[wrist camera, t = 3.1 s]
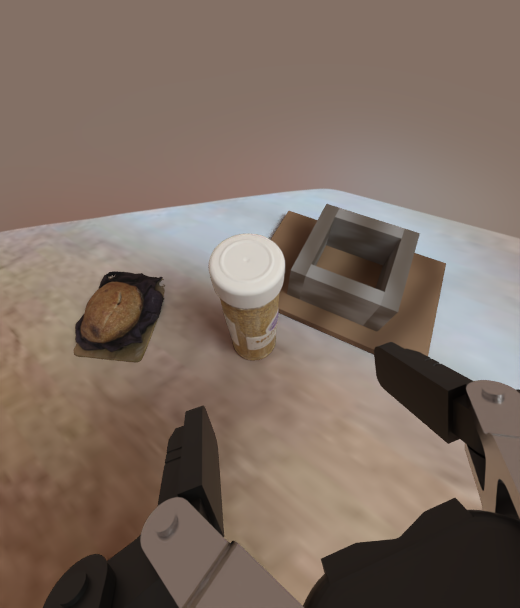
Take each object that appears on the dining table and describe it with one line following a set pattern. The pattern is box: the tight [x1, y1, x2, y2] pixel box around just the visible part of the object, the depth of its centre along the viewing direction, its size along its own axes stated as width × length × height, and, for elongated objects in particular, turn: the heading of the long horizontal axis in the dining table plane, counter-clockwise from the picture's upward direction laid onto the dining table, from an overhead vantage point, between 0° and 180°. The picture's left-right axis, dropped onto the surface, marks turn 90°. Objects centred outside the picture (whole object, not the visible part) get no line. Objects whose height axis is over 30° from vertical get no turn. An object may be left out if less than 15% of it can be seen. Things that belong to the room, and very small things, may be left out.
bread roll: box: [74, 272, 165, 362], centre depth 27 cm, size 11×8×4 cm
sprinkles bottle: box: [209, 234, 285, 360], centre depth 21 cm, size 5×5×14 cm
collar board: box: [271, 204, 446, 356], centre depth 27 cm, size 20×14×6 cm
